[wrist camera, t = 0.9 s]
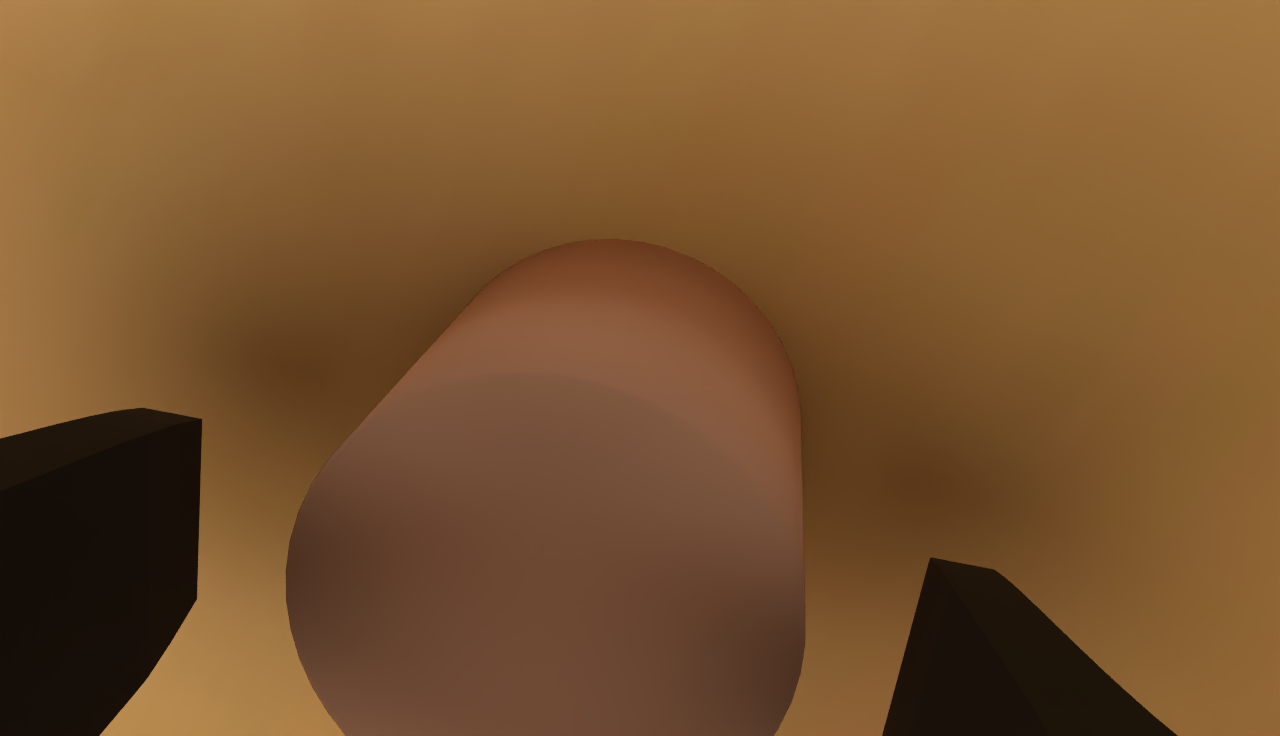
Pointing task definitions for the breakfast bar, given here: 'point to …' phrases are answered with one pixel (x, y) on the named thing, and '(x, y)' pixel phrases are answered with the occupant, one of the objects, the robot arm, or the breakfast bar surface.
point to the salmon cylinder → (566, 516)
